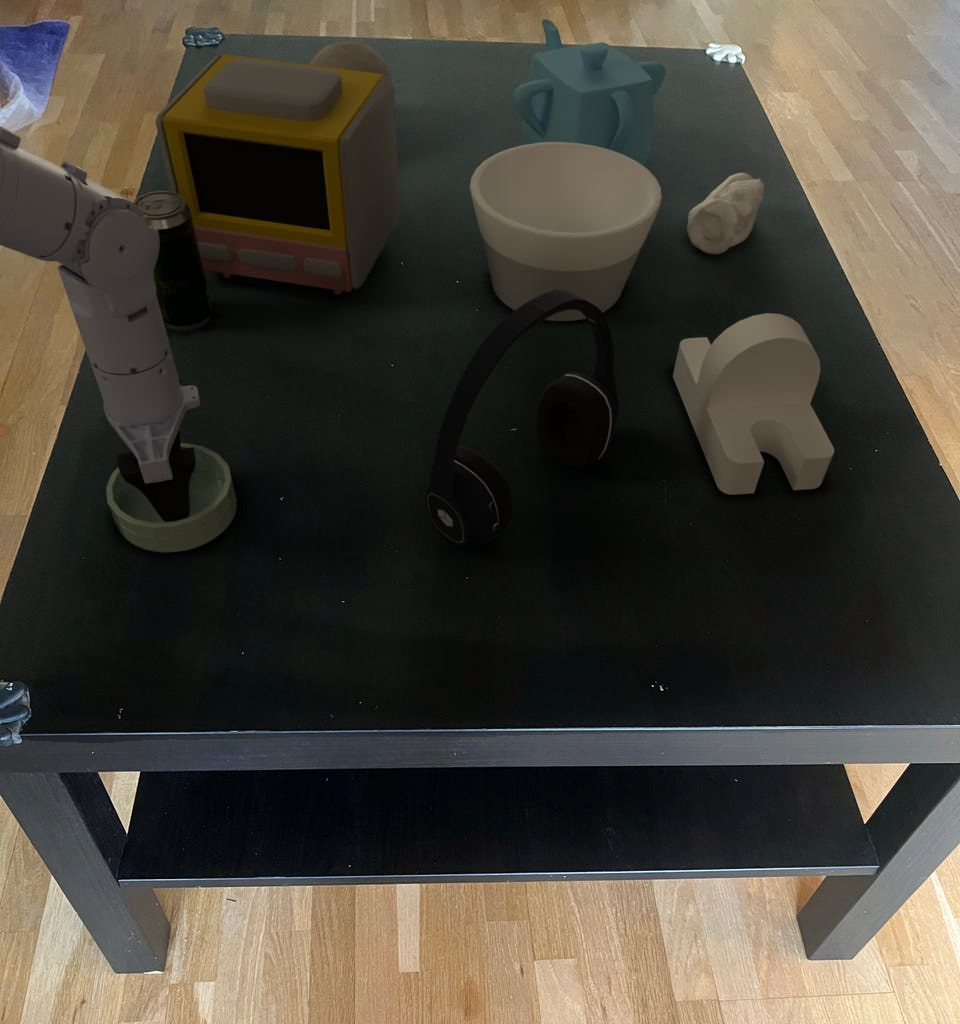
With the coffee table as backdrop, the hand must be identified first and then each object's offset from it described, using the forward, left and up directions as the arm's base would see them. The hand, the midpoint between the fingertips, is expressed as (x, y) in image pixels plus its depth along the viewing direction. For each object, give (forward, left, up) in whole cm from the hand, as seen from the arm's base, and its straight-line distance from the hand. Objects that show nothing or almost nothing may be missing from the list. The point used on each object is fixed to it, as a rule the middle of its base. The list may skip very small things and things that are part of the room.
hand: (172, 490), depth 80 cm
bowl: (+43, +24, -2) cm, 49 cm away
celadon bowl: (0, 0, -2) cm, 2 cm away
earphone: (+29, -6, -2) cm, 30 cm away
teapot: (+55, +50, -2) cm, 74 cm away
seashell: (+28, +62, -2) cm, 68 cm away
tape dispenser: (+52, -3, -2) cm, 52 cm away
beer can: (+4, +28, -2) cm, 28 cm away
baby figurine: (+65, +29, -2) cm, 71 cm away
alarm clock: (+17, +36, -2) cm, 39 cm away
